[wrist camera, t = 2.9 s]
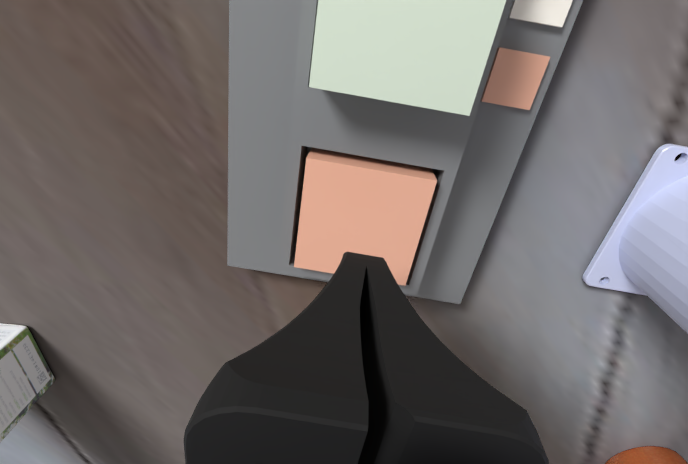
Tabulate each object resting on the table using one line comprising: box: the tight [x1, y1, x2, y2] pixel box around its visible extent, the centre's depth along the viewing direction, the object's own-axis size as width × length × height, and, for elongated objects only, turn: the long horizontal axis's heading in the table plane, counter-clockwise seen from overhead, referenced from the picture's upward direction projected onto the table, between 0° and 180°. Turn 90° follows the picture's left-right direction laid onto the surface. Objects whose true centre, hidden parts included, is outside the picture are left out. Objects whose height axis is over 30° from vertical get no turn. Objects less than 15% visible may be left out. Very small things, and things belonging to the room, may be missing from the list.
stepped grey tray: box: [227, 0, 583, 304], centre depth 14 cm, size 13×26×4 cm, turn 171°
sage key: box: [309, 0, 506, 116], centre depth 11 cm, size 5×5×2 cm
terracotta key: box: [294, 147, 437, 286], centre depth 17 cm, size 5×5×2 cm
